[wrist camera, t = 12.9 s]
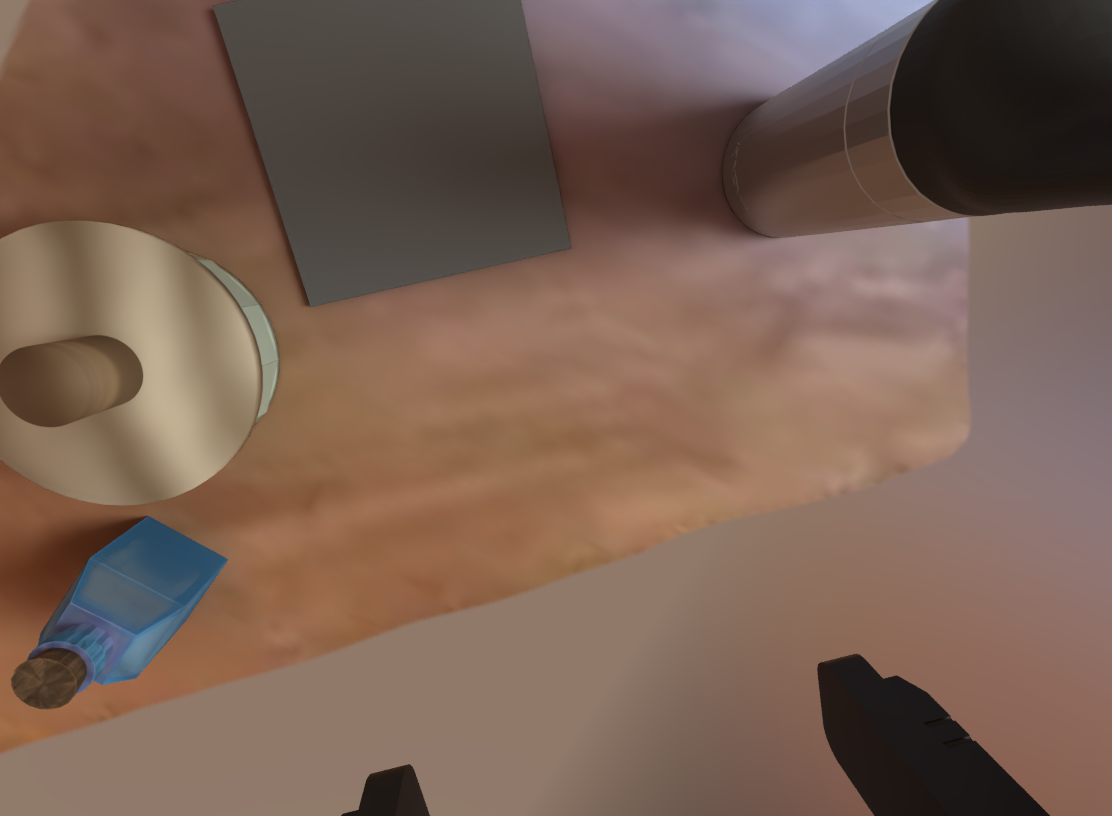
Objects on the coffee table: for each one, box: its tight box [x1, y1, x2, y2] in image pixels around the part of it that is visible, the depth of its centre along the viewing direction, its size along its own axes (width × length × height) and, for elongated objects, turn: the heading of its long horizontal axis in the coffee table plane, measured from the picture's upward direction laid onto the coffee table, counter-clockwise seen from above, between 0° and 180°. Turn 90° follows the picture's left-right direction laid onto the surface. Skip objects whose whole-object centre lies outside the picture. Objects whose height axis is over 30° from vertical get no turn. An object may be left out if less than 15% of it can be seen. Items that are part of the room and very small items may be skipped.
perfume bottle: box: [11, 516, 228, 709], centre depth 36 cm, size 6×6×12 cm
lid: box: [0, 220, 263, 505], centre depth 30 cm, size 16×16×6 cm
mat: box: [212, 0, 571, 307], centre depth 37 cm, size 18×18×1 cm
